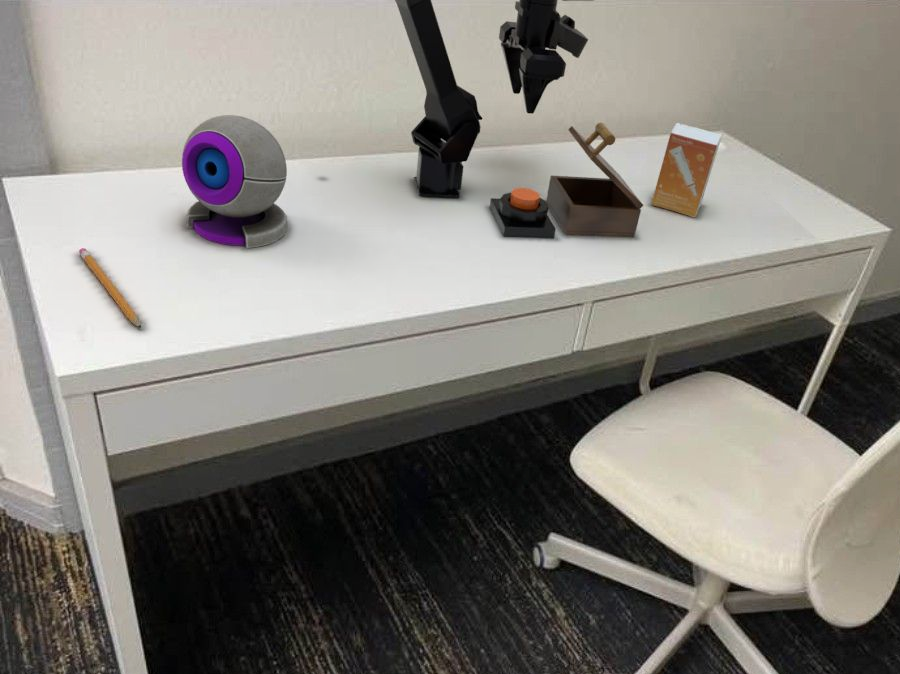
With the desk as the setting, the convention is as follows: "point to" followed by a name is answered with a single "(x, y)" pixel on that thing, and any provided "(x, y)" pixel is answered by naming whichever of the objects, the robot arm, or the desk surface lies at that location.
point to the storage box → (591, 207)
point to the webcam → (235, 182)
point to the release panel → (521, 219)
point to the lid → (600, 161)
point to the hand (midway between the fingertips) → (522, 103)
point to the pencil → (110, 287)
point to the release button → (524, 198)
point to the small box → (686, 169)
